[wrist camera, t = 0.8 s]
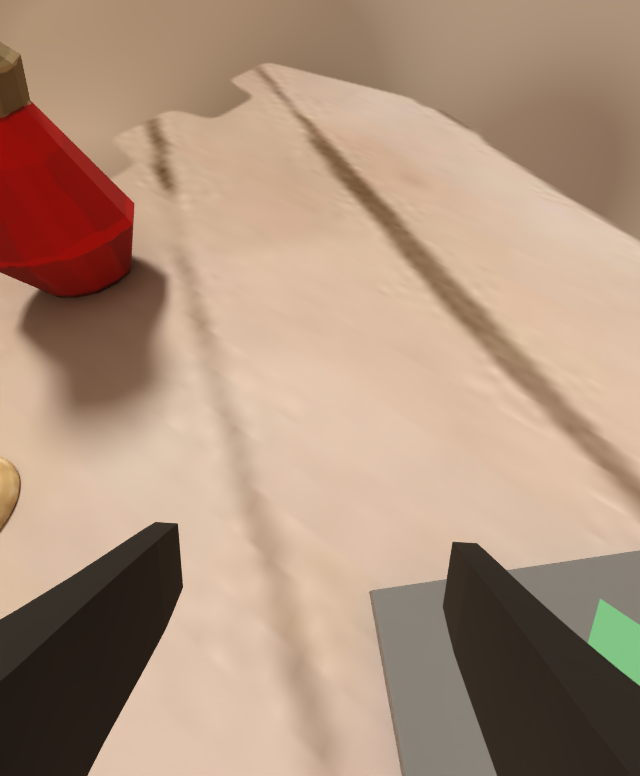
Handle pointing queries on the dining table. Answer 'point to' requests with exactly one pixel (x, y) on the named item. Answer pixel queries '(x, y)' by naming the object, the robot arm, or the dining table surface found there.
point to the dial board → (440, 669)
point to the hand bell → (8, 489)
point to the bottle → (55, 201)
